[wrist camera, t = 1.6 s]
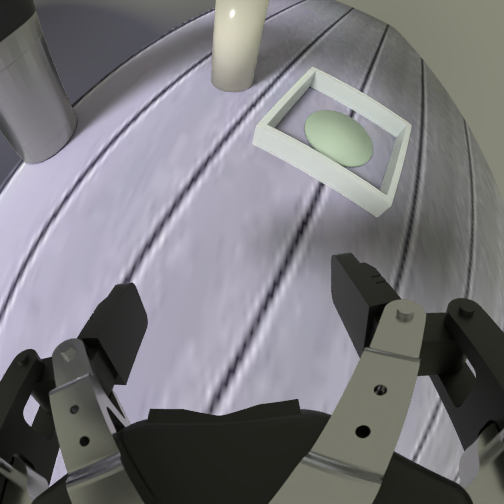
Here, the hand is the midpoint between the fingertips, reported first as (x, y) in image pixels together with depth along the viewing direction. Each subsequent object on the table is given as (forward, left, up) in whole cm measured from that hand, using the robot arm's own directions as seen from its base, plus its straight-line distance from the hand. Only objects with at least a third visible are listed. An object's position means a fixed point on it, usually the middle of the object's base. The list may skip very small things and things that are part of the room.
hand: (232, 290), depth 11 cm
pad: (+1, +25, -13) cm, 28 cm away
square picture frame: (+1, +25, -13) cm, 28 cm away
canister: (-15, +26, -13) cm, 32 cm away
